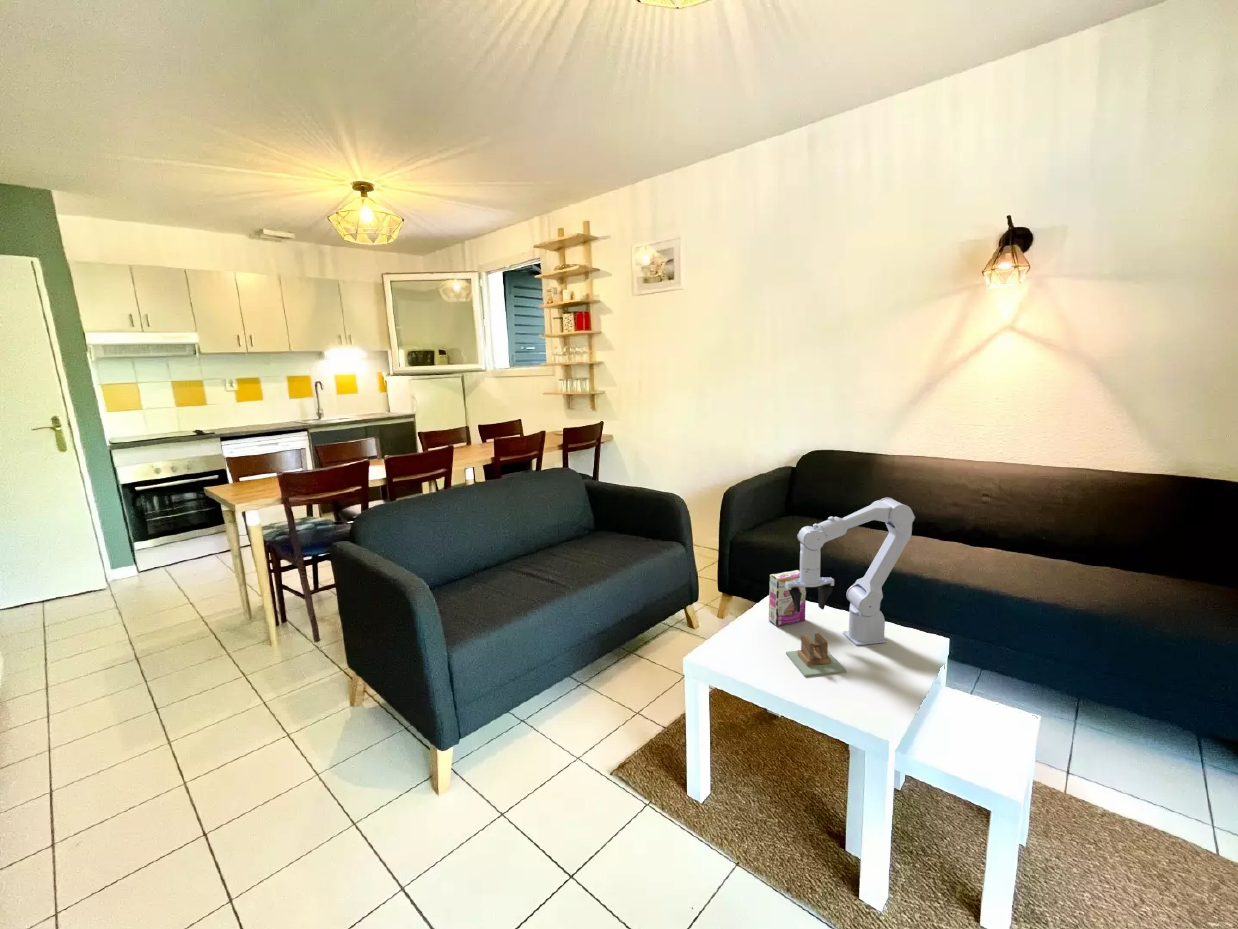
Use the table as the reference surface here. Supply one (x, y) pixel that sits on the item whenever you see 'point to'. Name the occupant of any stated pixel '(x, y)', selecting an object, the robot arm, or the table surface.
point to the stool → (814, 651)
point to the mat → (818, 669)
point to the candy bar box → (784, 600)
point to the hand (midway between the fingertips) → (809, 609)
